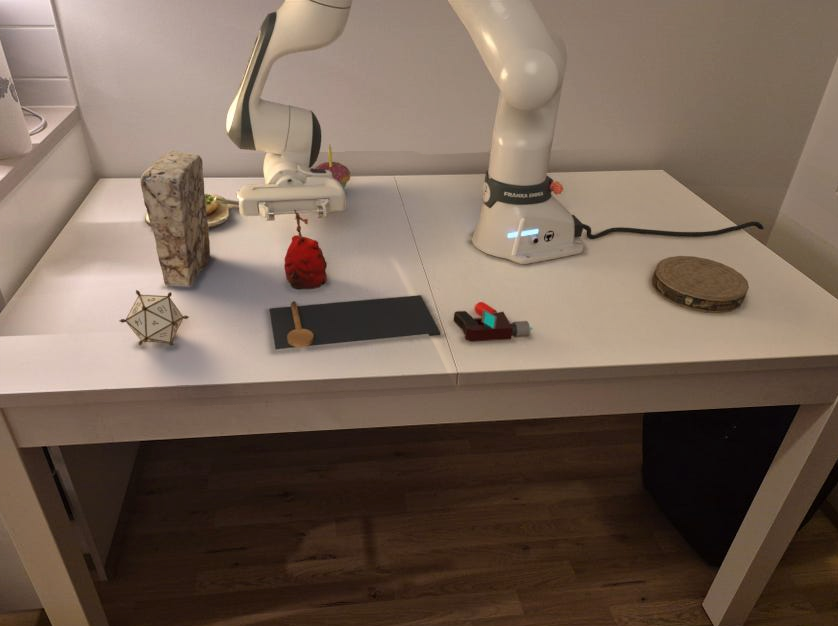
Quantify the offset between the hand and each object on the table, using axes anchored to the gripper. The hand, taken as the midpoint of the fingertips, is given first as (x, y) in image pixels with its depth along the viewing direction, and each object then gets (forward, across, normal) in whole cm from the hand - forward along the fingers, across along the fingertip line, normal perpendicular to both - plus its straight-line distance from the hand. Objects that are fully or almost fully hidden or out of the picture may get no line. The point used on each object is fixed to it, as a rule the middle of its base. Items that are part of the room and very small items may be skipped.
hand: (296, 215), depth 119 cm
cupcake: (-30, +11, +8) cm, 33 cm away
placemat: (+25, +6, +8) cm, 27 cm away
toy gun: (+30, +28, +8) cm, 42 cm away
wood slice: (+25, +70, +8) cm, 75 cm away
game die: (+25, -24, +8) cm, 36 cm away
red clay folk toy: (+11, 0, +8) cm, 14 cm away
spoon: (+25, -3, +8) cm, 26 cm away
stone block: (+3, -20, +8) cm, 22 cm away
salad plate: (-22, -21, +8) cm, 32 cm away
